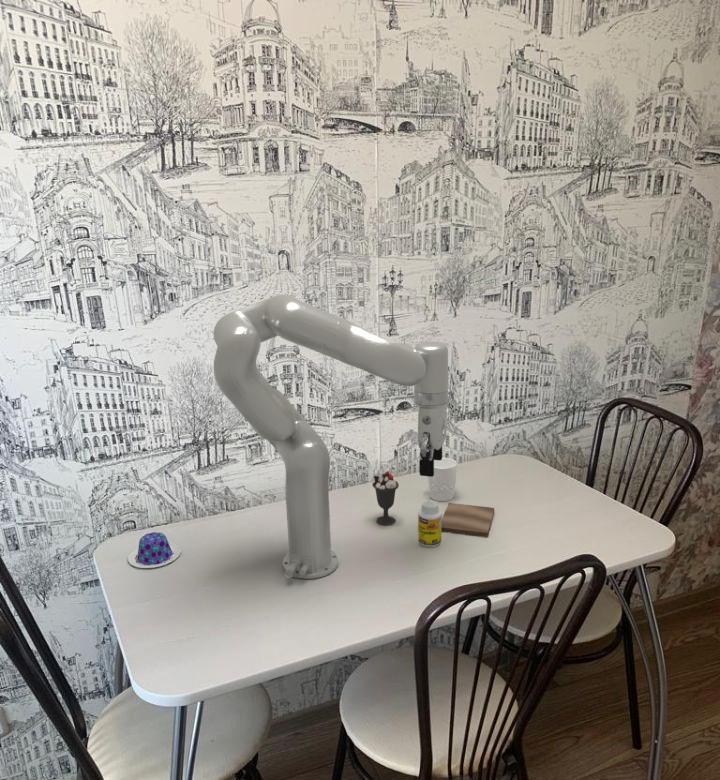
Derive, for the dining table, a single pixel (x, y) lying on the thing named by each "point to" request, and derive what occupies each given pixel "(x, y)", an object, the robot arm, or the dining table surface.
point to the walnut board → (467, 519)
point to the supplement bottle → (429, 524)
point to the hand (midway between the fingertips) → (431, 467)
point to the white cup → (443, 480)
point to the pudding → (154, 551)
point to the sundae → (385, 495)
